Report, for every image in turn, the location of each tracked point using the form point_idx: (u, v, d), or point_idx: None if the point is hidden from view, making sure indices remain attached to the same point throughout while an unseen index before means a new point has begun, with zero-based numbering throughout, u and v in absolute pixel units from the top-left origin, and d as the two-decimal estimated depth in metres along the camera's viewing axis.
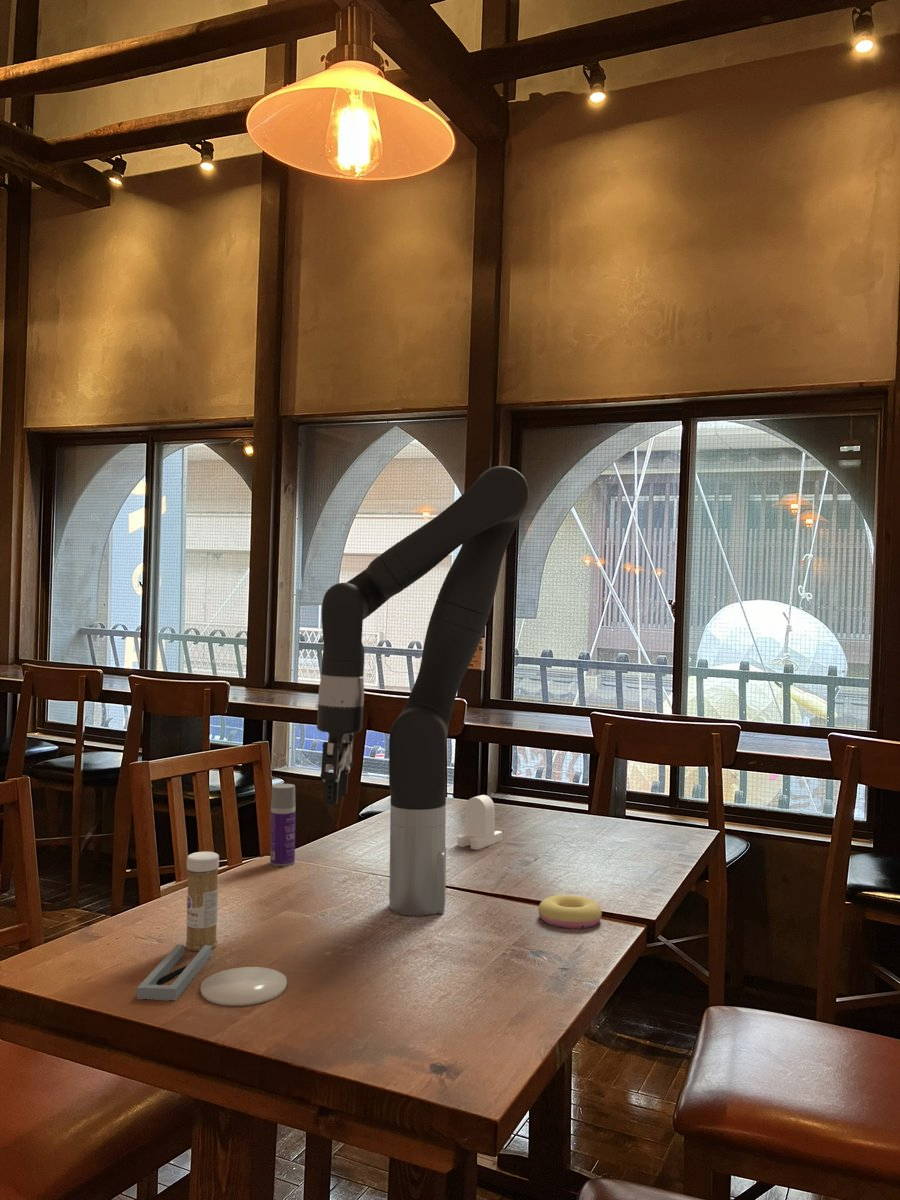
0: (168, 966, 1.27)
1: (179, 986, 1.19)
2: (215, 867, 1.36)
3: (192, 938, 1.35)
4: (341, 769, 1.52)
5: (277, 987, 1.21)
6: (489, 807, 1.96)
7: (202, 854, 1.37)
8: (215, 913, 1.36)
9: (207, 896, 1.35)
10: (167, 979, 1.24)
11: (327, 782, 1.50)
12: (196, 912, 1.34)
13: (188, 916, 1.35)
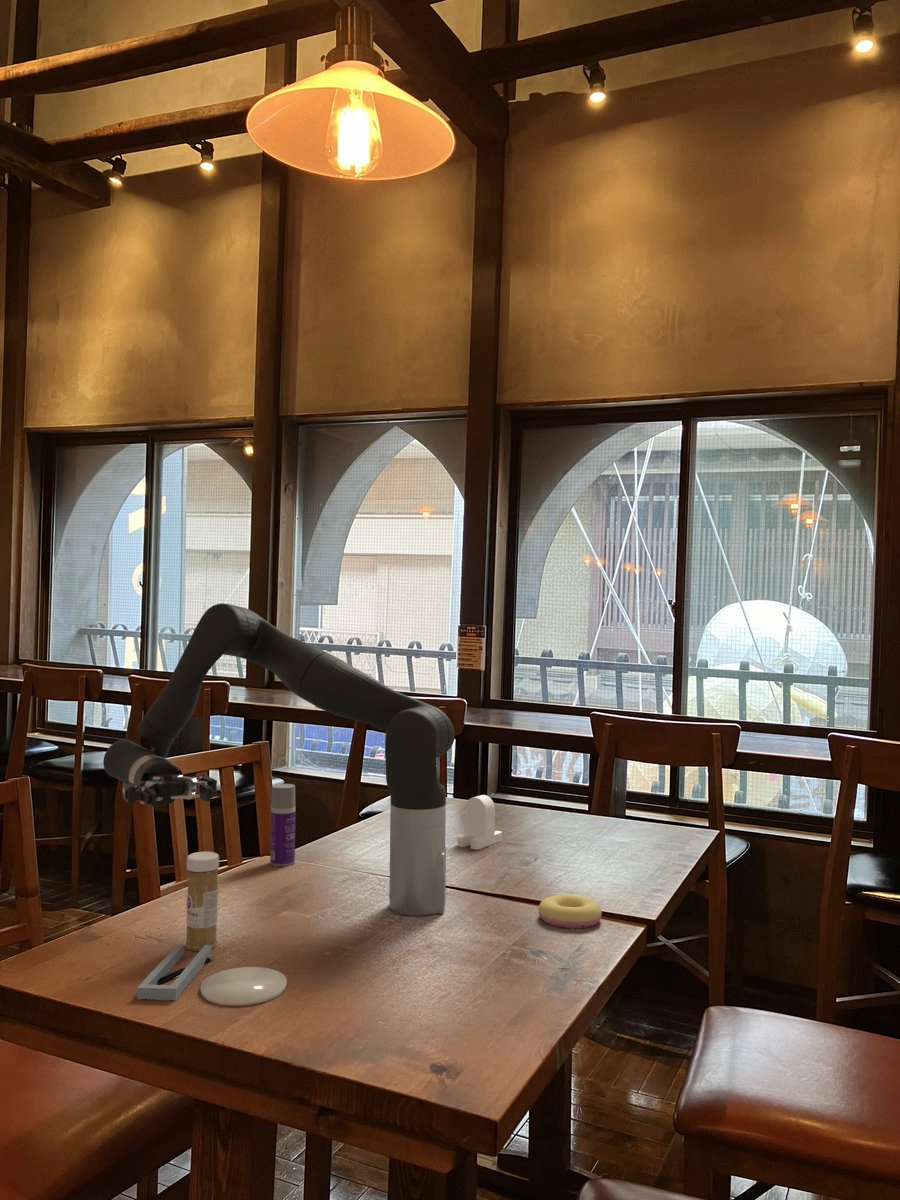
0: (168, 966, 1.27)
1: (179, 986, 1.19)
2: (215, 867, 1.36)
3: (192, 938, 1.35)
4: (149, 784, 1.49)
5: (277, 987, 1.21)
6: (489, 807, 1.96)
7: (202, 854, 1.37)
8: (215, 913, 1.36)
9: (207, 896, 1.35)
10: (167, 979, 1.24)
11: (140, 798, 1.46)
12: (196, 912, 1.34)
13: (188, 916, 1.35)
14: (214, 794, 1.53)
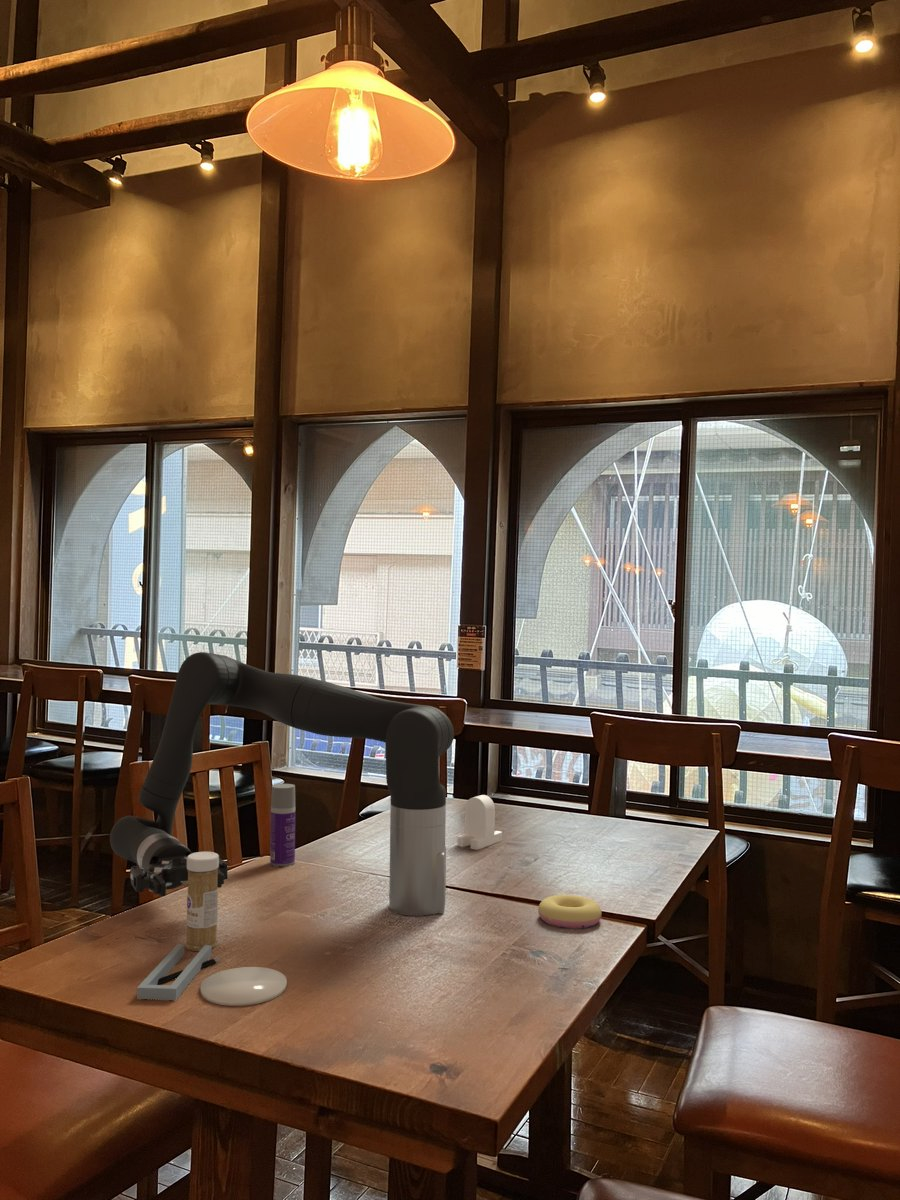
0: (168, 966, 1.27)
1: (179, 986, 1.19)
2: (215, 867, 1.36)
3: (192, 938, 1.35)
4: (158, 870, 1.44)
5: (277, 987, 1.21)
6: (489, 807, 1.96)
7: (202, 854, 1.37)
8: (215, 913, 1.36)
9: (207, 896, 1.35)
10: (167, 979, 1.24)
11: (149, 886, 1.42)
12: (196, 912, 1.34)
13: (188, 916, 1.35)
14: (225, 878, 1.48)
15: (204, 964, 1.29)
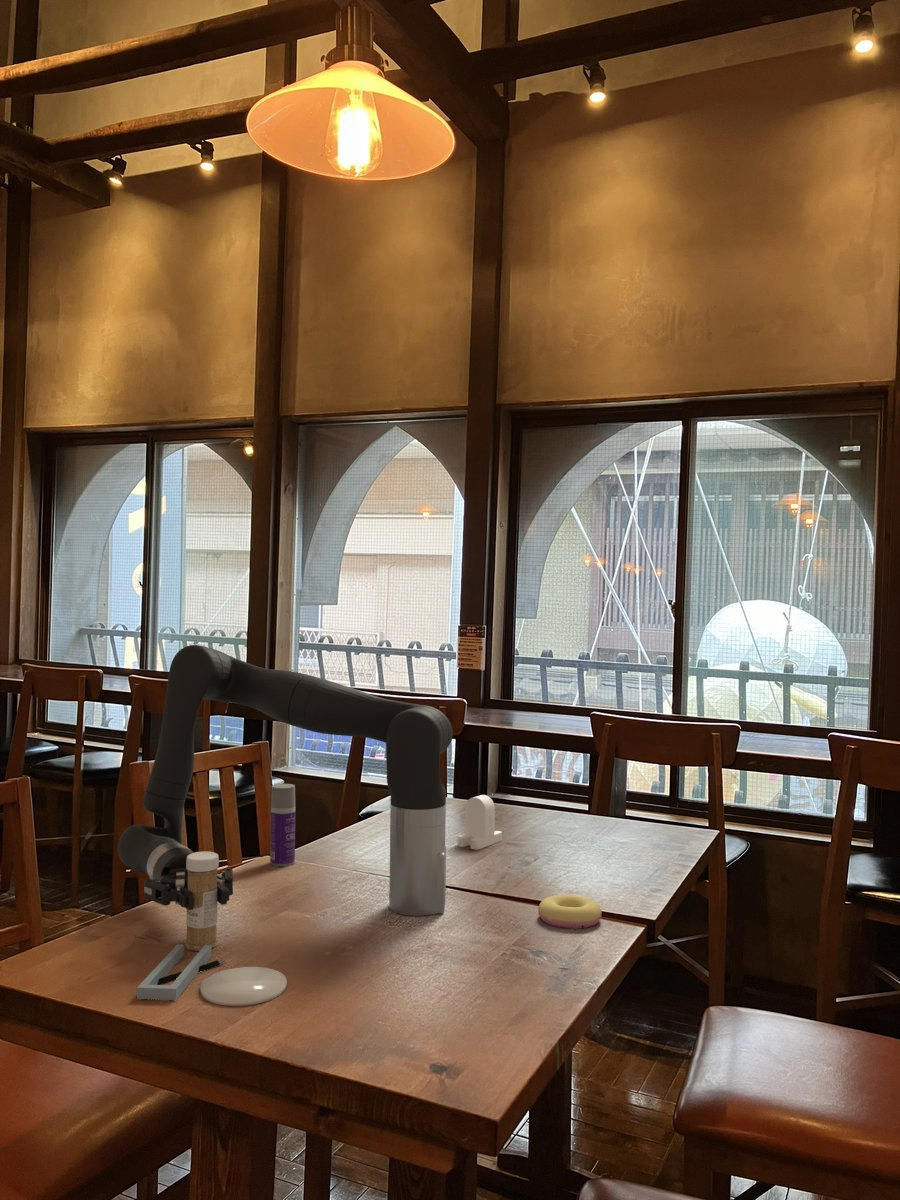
0: (168, 966, 1.27)
1: (179, 986, 1.19)
2: (215, 867, 1.36)
3: (192, 938, 1.35)
4: (181, 881, 1.38)
5: (277, 987, 1.21)
6: (489, 807, 1.96)
7: (201, 854, 1.37)
8: (215, 913, 1.36)
9: (206, 896, 1.35)
10: (167, 979, 1.24)
11: (175, 899, 1.35)
12: (196, 912, 1.34)
13: (188, 916, 1.35)
14: (229, 893, 1.40)
15: (207, 965, 1.28)
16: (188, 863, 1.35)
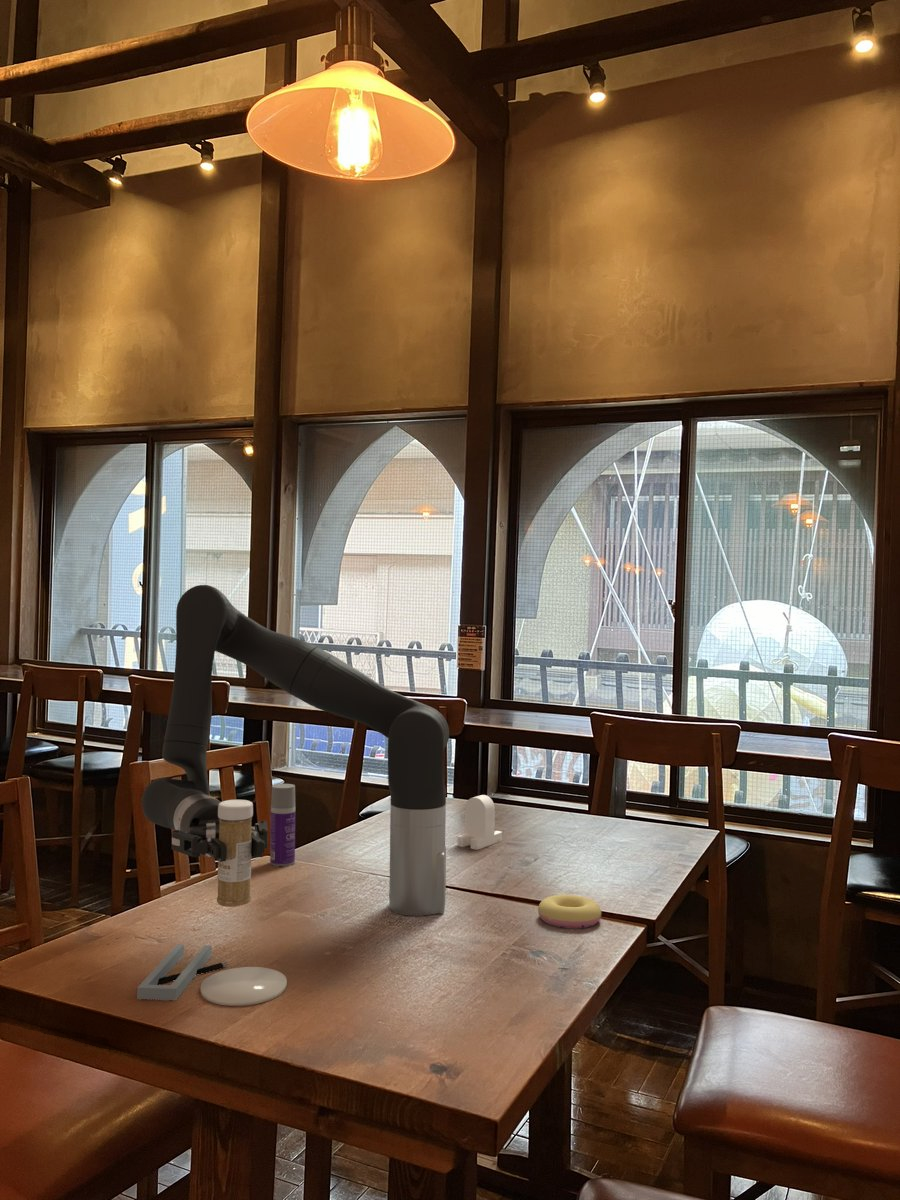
0: (168, 966, 1.27)
1: (179, 986, 1.19)
2: (249, 816, 1.24)
3: (224, 893, 1.23)
4: (211, 832, 1.27)
5: (277, 987, 1.21)
6: (489, 807, 1.96)
7: (234, 801, 1.25)
8: (249, 866, 1.24)
9: (240, 846, 1.23)
10: (167, 980, 1.23)
11: (206, 851, 1.24)
12: (228, 865, 1.23)
13: (219, 869, 1.23)
14: None
15: (210, 968, 1.28)
16: (220, 811, 1.23)
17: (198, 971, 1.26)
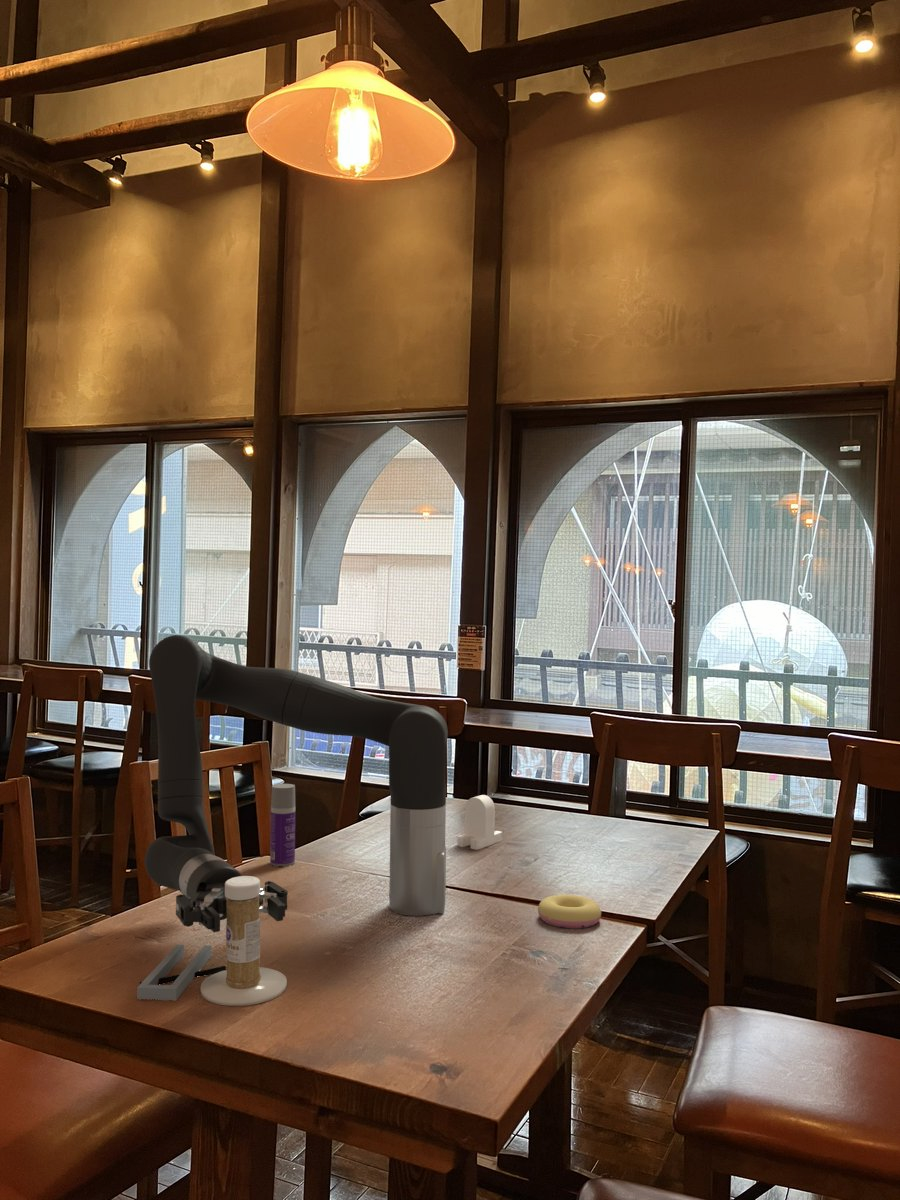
0: (168, 966, 1.27)
1: (179, 986, 1.19)
2: (257, 894, 1.21)
3: (233, 974, 1.20)
4: (209, 899, 1.24)
5: (277, 987, 1.21)
6: (489, 807, 1.96)
7: (241, 879, 1.23)
8: (258, 945, 1.22)
9: (248, 926, 1.20)
10: (167, 980, 1.23)
11: (199, 920, 1.21)
12: (237, 945, 1.20)
13: (228, 949, 1.21)
14: (284, 908, 1.28)
15: (212, 970, 1.27)
16: (227, 890, 1.20)
17: (200, 973, 1.26)
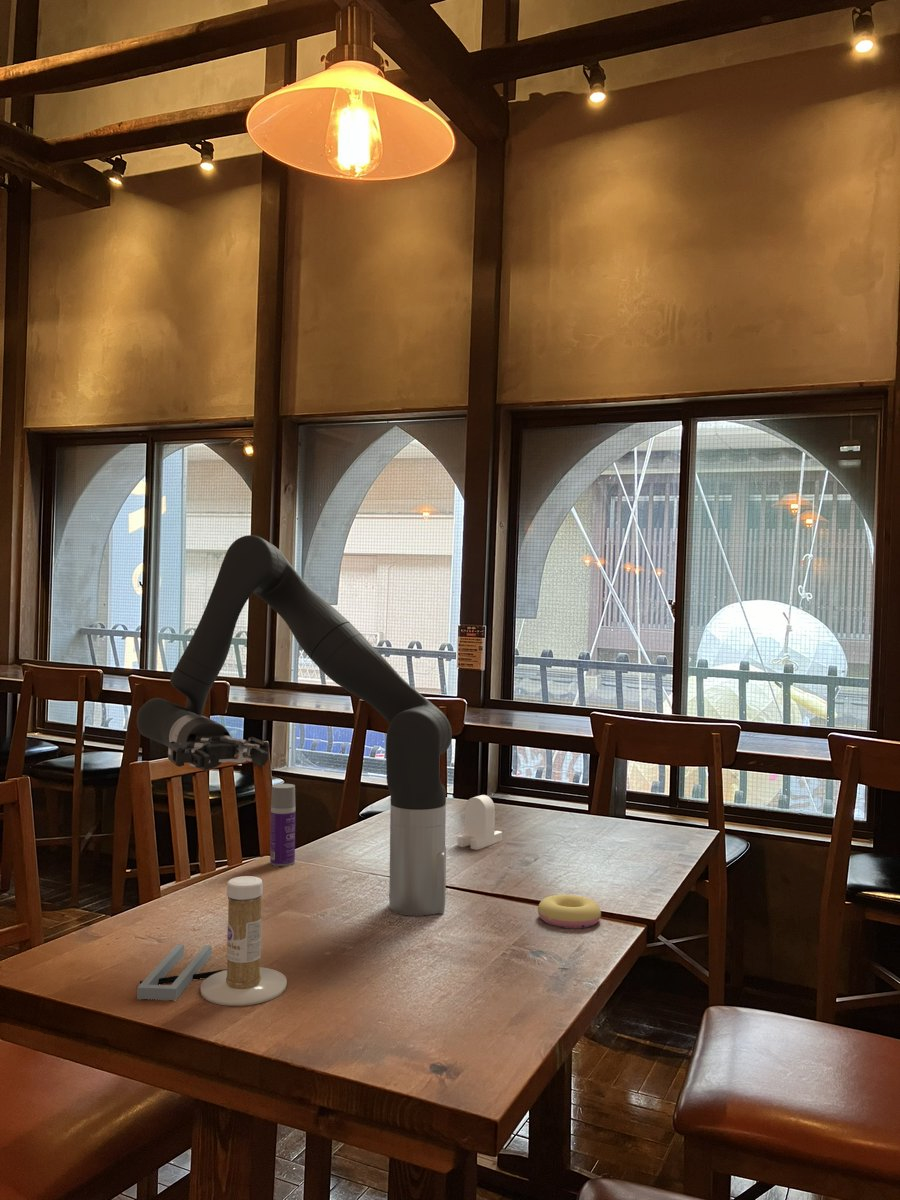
0: (168, 966, 1.27)
1: (179, 986, 1.19)
2: (259, 894, 1.21)
3: (233, 974, 1.20)
4: (199, 745, 1.38)
5: (277, 987, 1.21)
6: (489, 807, 1.96)
7: (243, 879, 1.23)
8: (259, 945, 1.22)
9: (250, 926, 1.20)
10: (166, 981, 1.23)
11: (190, 761, 1.35)
12: (238, 945, 1.20)
13: (229, 949, 1.21)
14: None
15: (214, 973, 1.26)
16: (229, 890, 1.21)
17: (200, 975, 1.25)
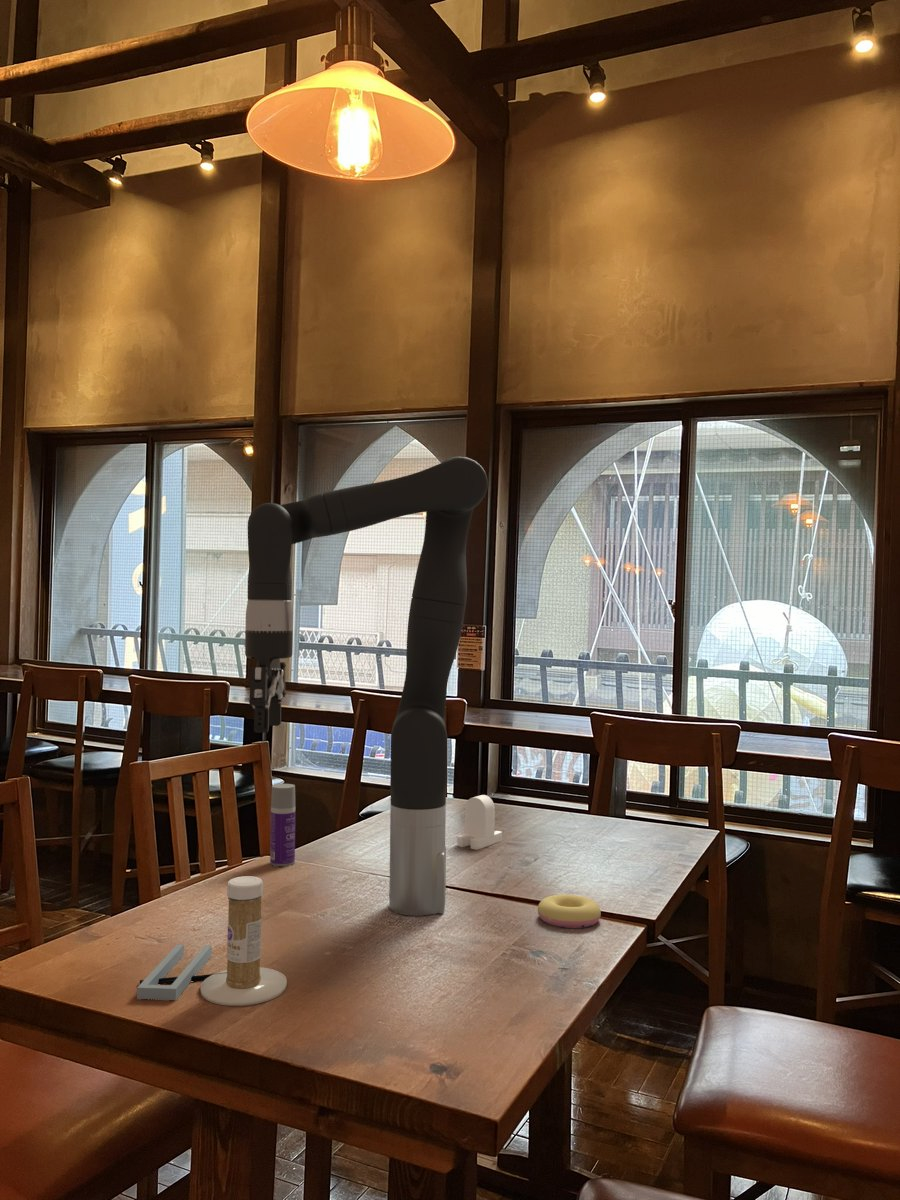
0: (168, 966, 1.27)
1: (179, 986, 1.19)
2: (259, 894, 1.21)
3: (233, 974, 1.20)
4: (271, 695, 1.47)
5: (277, 987, 1.21)
6: (489, 807, 1.96)
7: (244, 879, 1.23)
8: (259, 945, 1.22)
9: (250, 926, 1.20)
10: (166, 981, 1.23)
11: (257, 708, 1.45)
12: (238, 945, 1.20)
13: (229, 949, 1.21)
14: None
15: None
16: (229, 890, 1.21)
17: (200, 977, 1.24)
